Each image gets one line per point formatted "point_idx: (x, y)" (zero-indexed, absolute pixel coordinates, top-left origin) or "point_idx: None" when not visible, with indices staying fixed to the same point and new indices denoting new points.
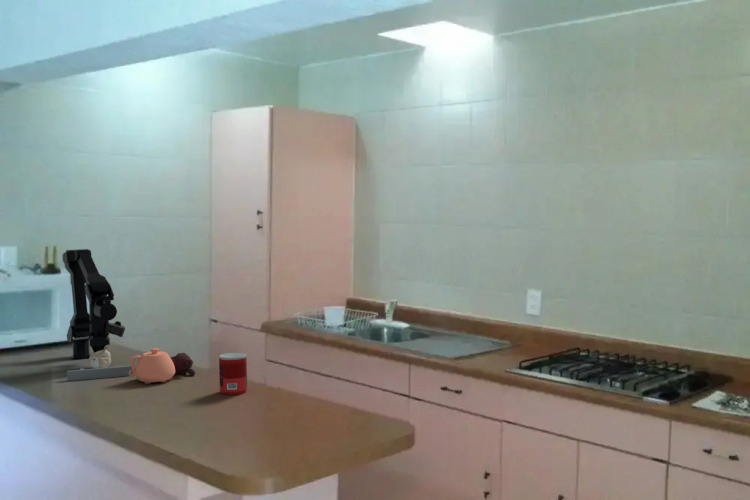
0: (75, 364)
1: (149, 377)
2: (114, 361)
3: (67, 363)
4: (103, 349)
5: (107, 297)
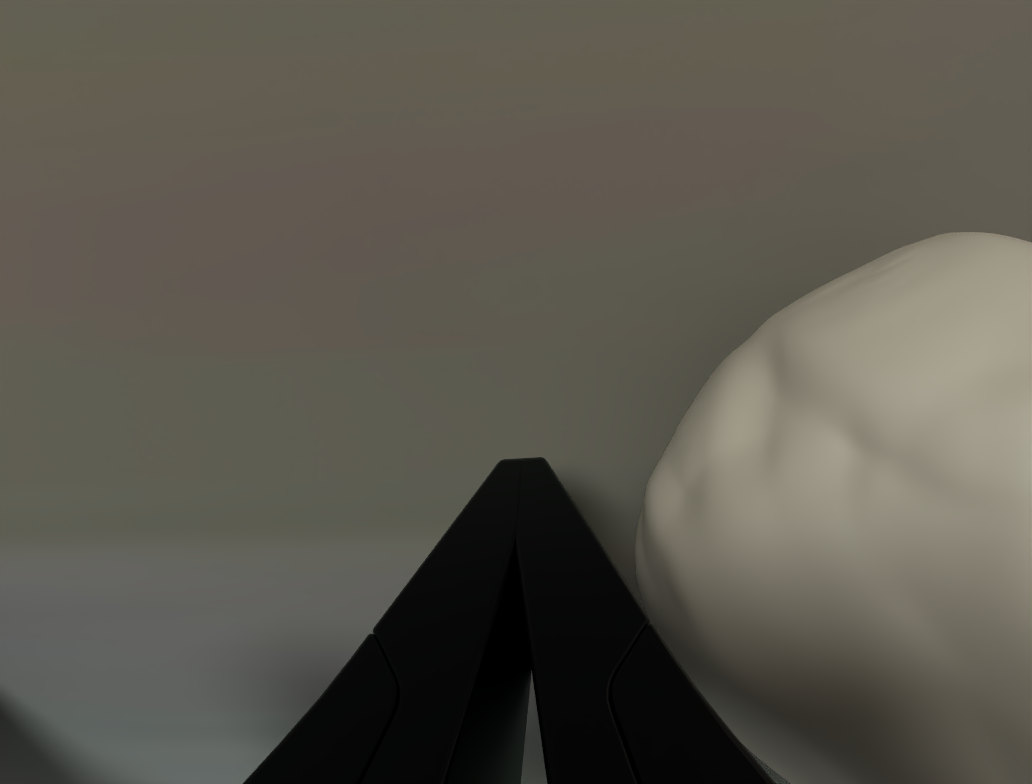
0: (286, 689)
1: None
2: (26, 147)
3: (216, 745)
4: (757, 763)
5: None
